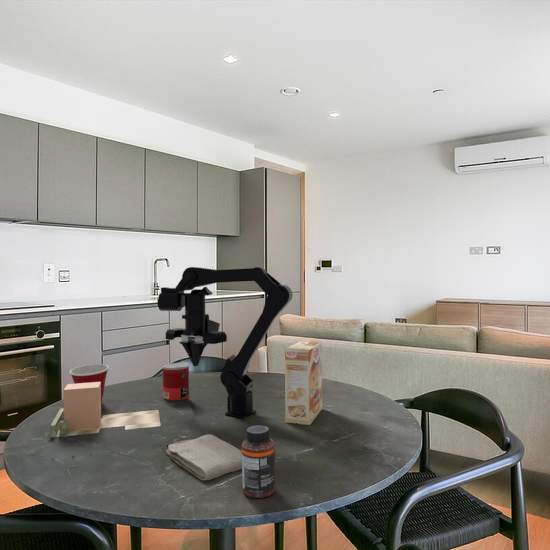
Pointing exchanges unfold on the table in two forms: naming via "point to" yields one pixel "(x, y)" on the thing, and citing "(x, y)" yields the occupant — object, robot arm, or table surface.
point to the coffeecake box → (303, 382)
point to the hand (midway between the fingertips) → (195, 365)
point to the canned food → (176, 381)
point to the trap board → (108, 422)
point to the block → (82, 405)
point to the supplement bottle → (258, 463)
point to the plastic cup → (90, 374)
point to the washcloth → (206, 456)
